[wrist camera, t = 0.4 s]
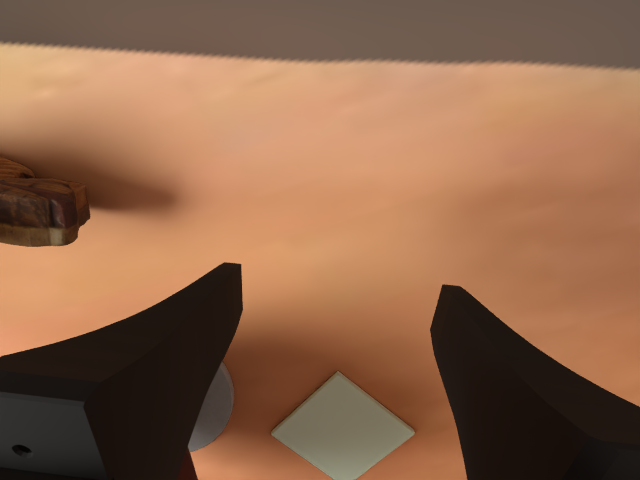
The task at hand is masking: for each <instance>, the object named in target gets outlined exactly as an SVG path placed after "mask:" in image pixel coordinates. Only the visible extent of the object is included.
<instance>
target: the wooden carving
mask: <svg viewBox="0 0 640 480" xmlns="http://www.w3.org/2000/svg"><path fill="white" fill-rule="evenodd" d="M89 219H90V211H89V204H88V202H87V200H86V186H85V185H84V184H81V183H77V182H66V181H63V180H58V179H48V178H39V179H36V177H35V175H34V173H33V172H32V171H31V170H30V169H28V168H27V167H25V166H23V165H21V164H19V163H16V162H13V161H11V160H8V159H5V158H2V157H0V242H1V243H6V244H11V245H19V246H26V247H40V246H63V245H68V244H70V243H72V242H74V241H75V240H76V239H77V238H78V230H79V227H80V226H82V225H84V224H85V223H86V221H87V220H89Z"/></svg>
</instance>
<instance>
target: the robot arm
mask: <svg viewBox="0 0 640 480" xmlns="http://www.w3.org/2000/svg"><path fill="white" fill-rule="evenodd" d="M242 311H243V302H242V276H241V264H235V263H225V262H224V263H223V264H221V265H219V266H218V267H216V268H215V269H213V270H212V271H210V272H209V273H207V274H206V275H204V276H203V277H201V278H199V279H198V280H196V281H195V282H193V283H192V284H190V285H189V286H187V287H185V288H184V289H182V290H180V291H179V292H177V293H175V294H173V295H172V296H170V297H168V298H167V299H165V300H163V301H161V302H159V303H158V304H156V305H154V306H152V307H150V308H148V309H146V310H144V311H141V312H139V313H137V314H135V315H133V316H131V317H128V318H126V319H123V320H121V321H118V322H116V323H113V324H111V325H108V326H105V327H103V328H100V329H98V330H95V331H92V332H89V333H86V334H83V335H80V336H77V337H74V338H70V339H67V340H64V341H60V342H57V343H53V344H50V345H46V346H42V347H38V348H34V349H30V350H26V351H21V352H17V353H13V354H9V355H4V356H1V357H0V480H177V478H178V475H179V472H180V469H181V465H182V462H183V459H184V456H185V453H186V450H187V447H188V444H189V441H190V438H191V435H192V433H193V430H194V427H195V424H196V421H197V418H198V416H199V413H200V410H201V407H202V404H203V402H204V399H205V397H206V394H207V392H208V390H209V387H210V385H211V383H212V381H213V379H214V377H215V375H216V373H217V371H218V369H219V367H220V364H221V362H222V360H223V358H224V356H225V354H226V352H227V350H228V348H229V346H230V344H231V342H232V339H233V337H234V335H235V333H236V330H237V327H238V324H239V321H240V317H241V314H242ZM430 332H431V338H432V345H433V350H434V355H435V359H436V362H437V365H438V368H439V372H440V375H441V378H442V381H443V384H444V387H445V390H446V393H447V397H448V400H449V403H450V406H451V409H452V412H453V415H454V419H455V422H456V426H457V430H458V435H459V439H460V444H461V449H462V454H463V458H464V464H465V469H466V474H467V480H640V407H639V406H637V405H635V404H633V403H631V402H629V401H626V400H624V399H622V398H620V397H618V396H616V395H615V394H613V393H611V392H609V391H607V390H605V389H603V388H601V387H599V386H598V385H596V384H594V383H592V382H591V381H589V380H587V379H585V378H584V377H582V376H580V375H578V374H576V373H575V372H573V371H571V370H570V369H568V368H567V367H565V366H563V365H562V364H560V363H559V362H557V361H556V360H554V359H553V358H551V357H549V356H548V355H546V354H545V353H543V352H542V351H540V350H539V349H538V348H536V347H535V346H533V345H532V344H531V343H529V342H528V341H527V340H525V339H524V338H523V337H521V336H520V335H519V334H517V333H516V332H515V331H513V330H512V329H511V328H510V327H508V326H507V325H506V324H505V323H503V322H502V321H501V320H500V319H499V318H497V317H496V316H495V315H494V314H493V313H492V312H490V311H489V310H488V309H487V308H486V307H485V306H483V305H482V304H481V303H480V302H479V301H478V300H476V299H475V298H474V297H473V296H472V295H471V294H469V293H468V292H467V291H466V290H465V289H463V288H462V287H460V286H453V285H442V288H441V292H440V296H439V299H438V303H437V307H436V310H435V314H434V317H433V321H432V325H431V328H430Z"/></svg>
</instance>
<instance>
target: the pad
mask: <svg viewBox="0 0 640 480" xmlns="http://www.w3.org/2000/svg"><path fill="white" fill-rule="evenodd" d="M414 434H415V432H414V429H412V428H411V427H410V426H408V425H407V424H406V423H405V422H403V421H402V420H401V419H399V418H398V417H397V416H396V415H394V414H393V413H392V412H390V411H389V410H388V409H387V408H385V407H384V406H383V405H381V404H380V403H379V402H378V401H376V400H375V399H374V398H372V397H371V396H370V395H368V394H367V393H366V392H365V391H363V390H362V389H361V388H359V387H358V386H357V385H356V384H354V383H353V382H352V381H350V380H349V379H348V378H347V377H345V376H344V375H343V374H341V373H340V372H339V371H337V372H336V373H335V374H334V375H333V376H332V377H331V378H330V379H328V380H327V381H326V382H325V383H324V384H323V385H322V386H321V387H320V388H318V389H317V390H316V391H315V392H314V393H313V394H312V395H311V396H310V397H309V398H307V399H306V400H305V401H304V402H303V403H302V404H301V405H300V406H299V407H298V408H296V409H295V410H294V411H293V412H292V413H291V414H290V415H289V416H288V417H287V418H285V419H284V420H283V421H282V422H281V423H280V424H279V425H278V426H277V427H275V428H274V429H273V430H272V432H271V436H273V437H274V438H276V439H277V440H279V441H280V442H281V443H283V444H284V445H286V446H287V447H289V448H290V449H291V450H293V451H294V452H296V453H297V454H298V455H300V456H301V457H303V458H304V459H306V460H307V461H308V462H310V463H311V464H313V465H314V466H315V467H317V468H318V469H320V470H321V471H323V472H324V473H325V474H327V475H328V476H330V477H331V478H332V479H334V480H356V479H357V478H358V477H359V476H361V475H362V474H363V473H365V472H366V471H367V470H369V469H370V468H371V467H372V466H374V465H375V464H376V463H378V462H379V461H380V460H382V459H383V458H384V457H386V456H387V455H388V454H389V453H391V452H392V451H393V450H395V449H396V448H397V447H399V446H400V445H401V444H402V443H404V442H405V441H406V440H408V439H409V438H410V437H412V436H413V435H414Z"/></svg>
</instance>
